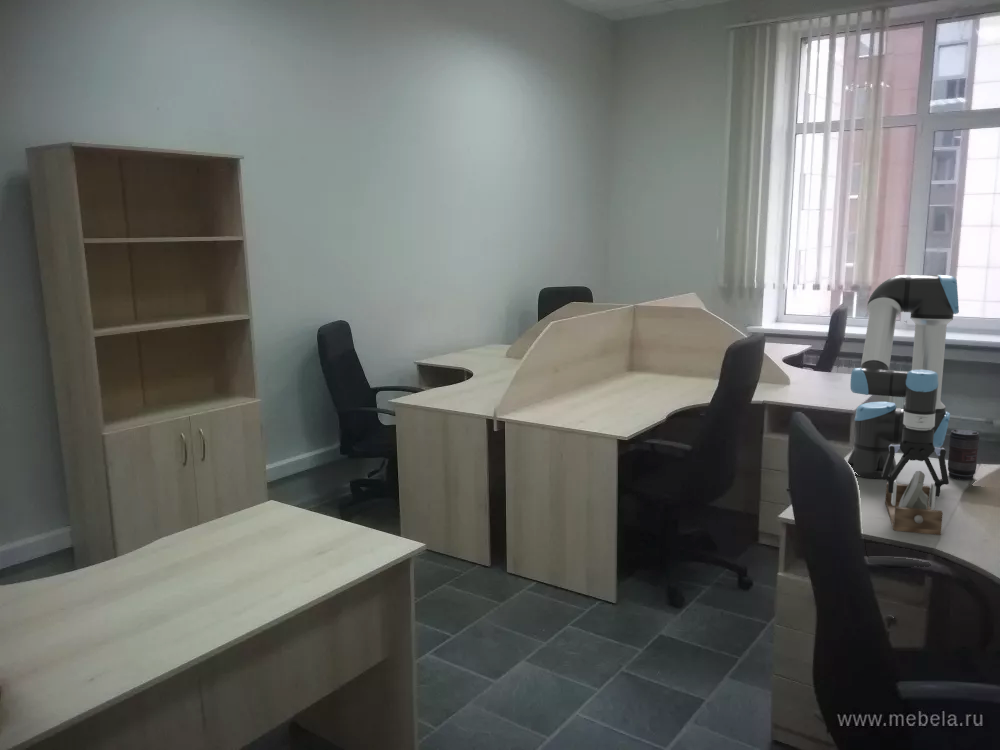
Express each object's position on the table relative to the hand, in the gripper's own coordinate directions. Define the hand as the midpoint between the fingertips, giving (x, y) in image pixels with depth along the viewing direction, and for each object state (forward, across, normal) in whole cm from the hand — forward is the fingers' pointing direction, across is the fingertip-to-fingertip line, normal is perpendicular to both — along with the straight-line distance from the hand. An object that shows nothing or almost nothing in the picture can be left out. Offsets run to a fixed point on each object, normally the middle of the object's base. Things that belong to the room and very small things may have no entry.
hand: (912, 505), depth 212 cm
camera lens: (+4, +20, +44) cm, 48 cm away
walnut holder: (+4, 0, 0) cm, 4 cm away
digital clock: (+3, -1, 0) cm, 3 cm away
